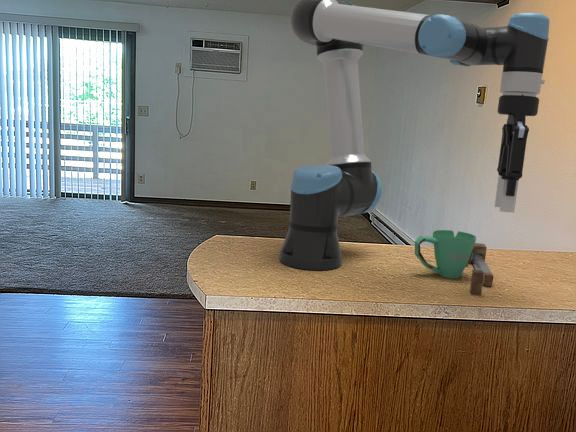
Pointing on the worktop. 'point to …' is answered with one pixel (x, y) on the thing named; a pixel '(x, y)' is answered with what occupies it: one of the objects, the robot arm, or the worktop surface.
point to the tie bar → (482, 268)
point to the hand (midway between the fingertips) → (504, 209)
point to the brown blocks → (477, 274)
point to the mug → (448, 251)
